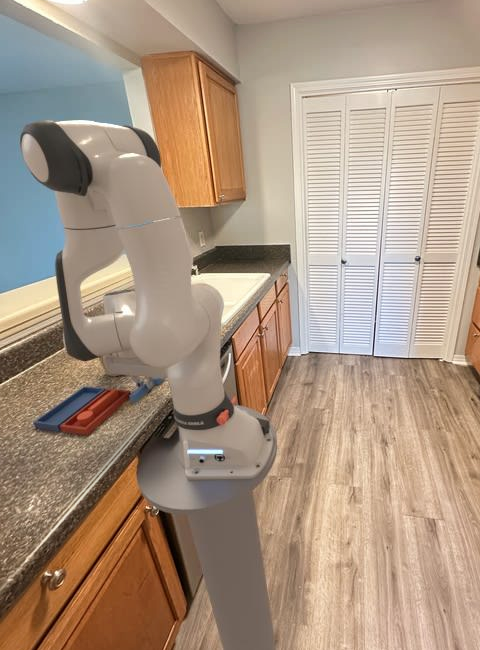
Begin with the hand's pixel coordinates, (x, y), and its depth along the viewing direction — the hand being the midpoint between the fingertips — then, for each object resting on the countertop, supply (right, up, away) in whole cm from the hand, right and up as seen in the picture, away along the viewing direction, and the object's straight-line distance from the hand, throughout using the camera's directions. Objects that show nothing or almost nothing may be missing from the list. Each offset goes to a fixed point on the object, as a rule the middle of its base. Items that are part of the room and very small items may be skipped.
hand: (144, 386), depth 96 cm
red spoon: (-9, -5, -8) cm, 12 cm away
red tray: (-9, -5, -8) cm, 13 cm away
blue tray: (-17, -5, -6) cm, 19 cm away
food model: (-15, +2, +12) cm, 19 cm away
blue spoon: (0, -1, +2) cm, 2 cm away
